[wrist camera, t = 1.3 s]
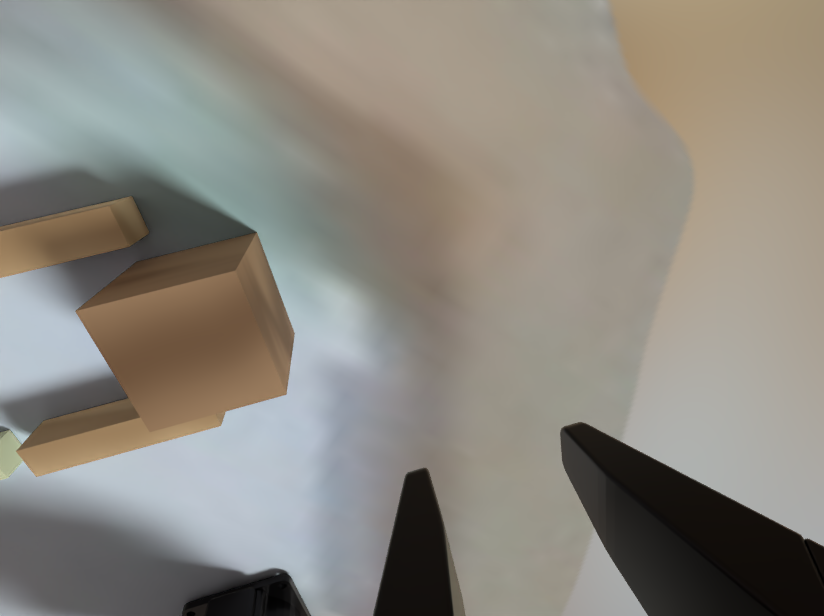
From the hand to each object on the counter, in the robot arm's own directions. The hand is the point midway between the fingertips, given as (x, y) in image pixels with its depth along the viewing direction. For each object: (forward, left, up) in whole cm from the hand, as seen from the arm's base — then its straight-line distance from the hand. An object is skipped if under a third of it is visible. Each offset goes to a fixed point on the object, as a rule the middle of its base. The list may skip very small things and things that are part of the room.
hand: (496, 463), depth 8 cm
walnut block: (0, +8, -13) cm, 15 cm away
